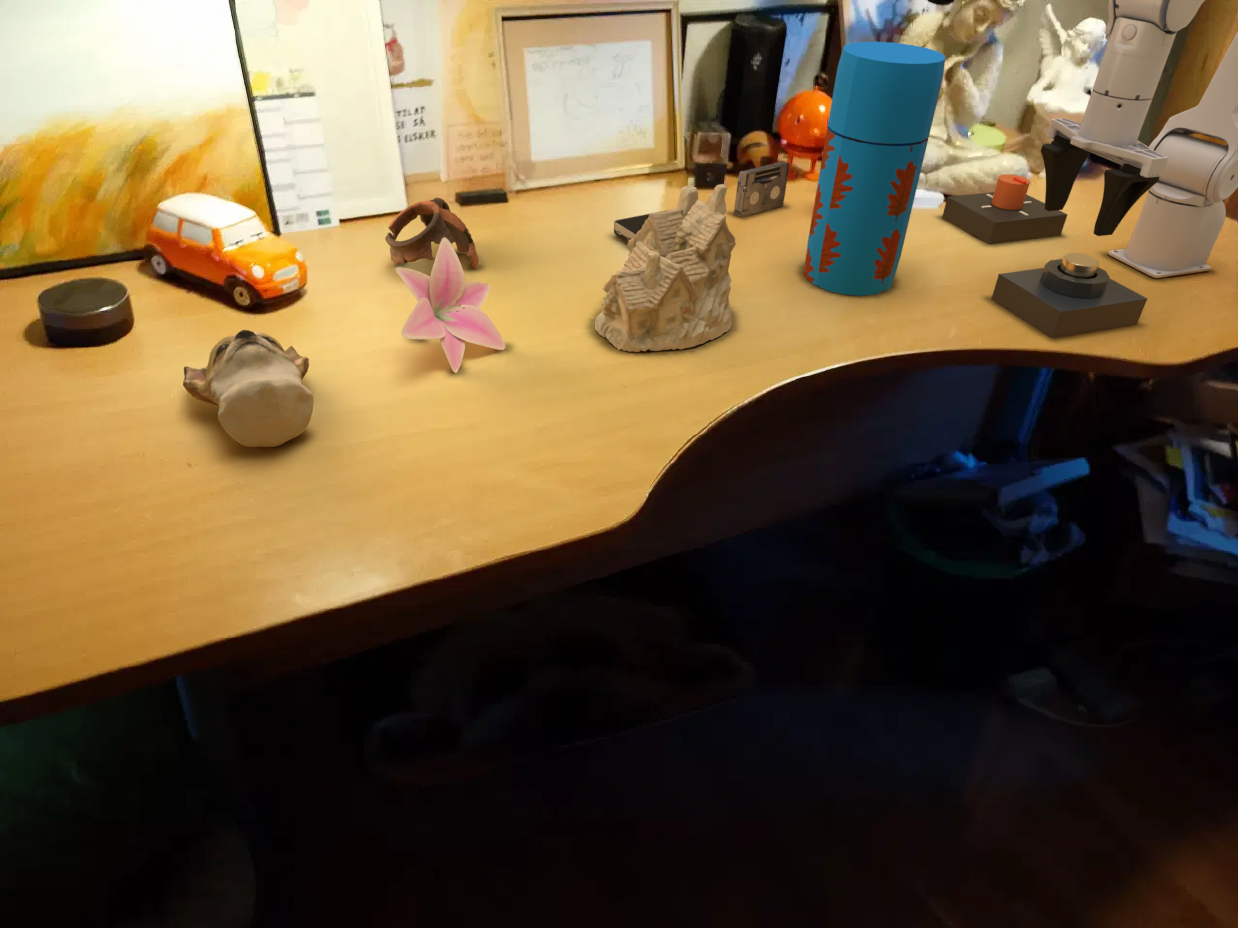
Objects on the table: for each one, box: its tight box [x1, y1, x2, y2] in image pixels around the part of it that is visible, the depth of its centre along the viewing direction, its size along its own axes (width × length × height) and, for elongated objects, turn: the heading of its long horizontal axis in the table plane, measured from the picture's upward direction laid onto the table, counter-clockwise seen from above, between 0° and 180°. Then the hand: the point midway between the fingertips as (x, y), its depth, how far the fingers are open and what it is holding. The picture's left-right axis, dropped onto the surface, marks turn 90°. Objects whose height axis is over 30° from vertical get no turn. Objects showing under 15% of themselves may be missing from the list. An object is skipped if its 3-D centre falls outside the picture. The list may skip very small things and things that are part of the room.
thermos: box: [803, 41, 946, 297], centre depth 101 cm, size 11×11×25 cm
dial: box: [992, 174, 1031, 210], centre depth 121 cm, size 4×4×4 cm
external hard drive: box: [613, 208, 673, 243], centre depth 115 cm, size 7×11×2 cm, turn 122°
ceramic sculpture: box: [182, 329, 314, 448], centre depth 77 cm, size 11×9×15 cm
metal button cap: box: [1059, 252, 1100, 279], centre depth 100 cm, size 4×4×2 cm
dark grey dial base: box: [941, 191, 1068, 245], centre depth 123 cm, size 12×10×3 cm
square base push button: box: [990, 258, 1148, 339], centre depth 101 cm, size 12×10×5 cm
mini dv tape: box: [733, 161, 790, 218], centre depth 124 cm, size 8×2×6 cm, turn 128°
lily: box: [395, 237, 506, 374], centre depth 88 cm, size 12×12×10 cm
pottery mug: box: [384, 197, 480, 270], centre depth 106 cm, size 12×10×8 cm
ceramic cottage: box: [594, 183, 737, 353], centre depth 94 cm, size 16×16×15 cm
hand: (1077, 221), depth 101 cm, fingers open, 7 cm apart
